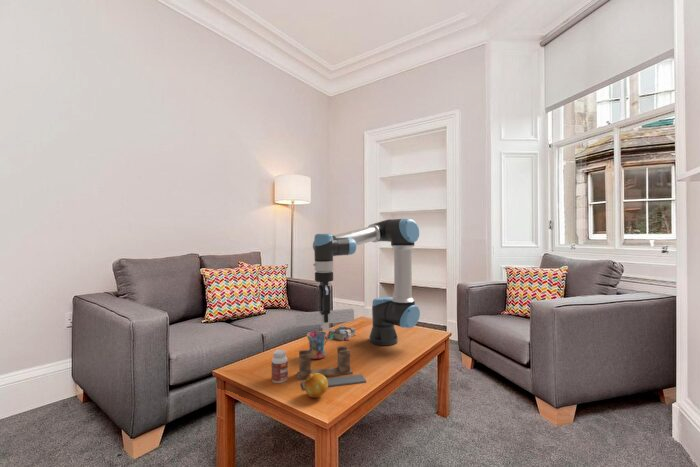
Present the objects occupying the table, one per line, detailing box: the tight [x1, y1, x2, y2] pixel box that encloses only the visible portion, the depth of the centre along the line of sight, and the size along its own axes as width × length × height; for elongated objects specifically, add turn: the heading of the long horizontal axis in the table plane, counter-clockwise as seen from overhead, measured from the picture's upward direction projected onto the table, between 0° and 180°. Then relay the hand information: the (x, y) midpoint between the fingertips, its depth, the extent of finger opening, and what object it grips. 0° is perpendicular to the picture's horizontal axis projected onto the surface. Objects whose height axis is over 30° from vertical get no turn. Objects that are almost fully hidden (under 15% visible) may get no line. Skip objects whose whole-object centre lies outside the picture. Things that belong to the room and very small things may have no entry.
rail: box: [294, 308, 355, 327], centre depth 135 cm, size 24×3×4 cm, turn 105°
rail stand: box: [296, 345, 354, 381], centre depth 135 cm, size 22×6×9 cm, turn 105°
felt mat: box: [301, 374, 367, 391], centre depth 127 cm, size 24×6×1 cm, turn 105°
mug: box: [306, 330, 329, 360], centre depth 155 cm, size 12×9×11 cm
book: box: [328, 325, 357, 342], centre depth 182 cm, size 20×12×5 cm, turn 146°
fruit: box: [304, 373, 329, 399], centre depth 116 cm, size 8×8×8 cm
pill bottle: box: [271, 349, 289, 384], centre depth 129 cm, size 6×6×11 cm
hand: (324, 328), depth 135 cm, fingers closed on rail, 3 cm apart
